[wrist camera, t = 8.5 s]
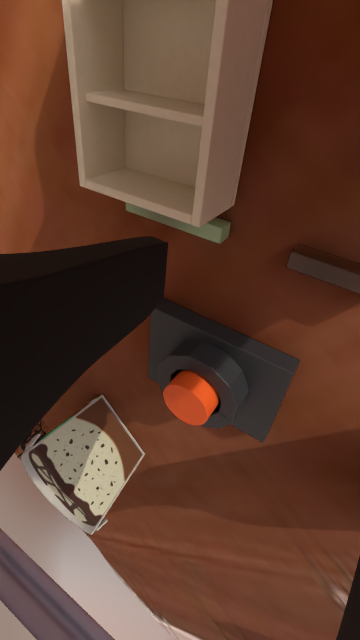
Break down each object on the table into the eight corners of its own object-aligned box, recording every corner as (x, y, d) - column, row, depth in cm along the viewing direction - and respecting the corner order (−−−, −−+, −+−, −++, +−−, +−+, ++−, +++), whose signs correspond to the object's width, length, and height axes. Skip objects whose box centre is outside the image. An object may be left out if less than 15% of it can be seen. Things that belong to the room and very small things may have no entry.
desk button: (223, 385, 23) (210, 402, 22) (215, 416, 25) (203, 433, 24) (178, 361, 24) (164, 376, 23) (174, 393, 27) (161, 408, 26)
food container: (71, 389, 44) (3, 447, 38) (95, 384, 40) (22, 449, 33) (124, 460, 47) (68, 527, 40) (151, 463, 43) (94, 538, 36)
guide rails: (799, -434, 7) (848, -504, 6) (387, 292, 17) (384, 303, 17) (138, -251, 13) (116, -273, 12) (136, 205, 23) (125, 210, 23)
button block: (300, 360, 22) (282, 394, 20) (269, 429, 27) (252, 463, 25) (162, 297, 27) (133, 319, 24) (157, 367, 32) (133, 392, 29)
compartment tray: (308, -185, 11) (262, -265, 9) (234, 205, 19) (199, 228, 17) (118, -156, 14) (40, -209, 11) (124, 171, 22) (79, 186, 20)
